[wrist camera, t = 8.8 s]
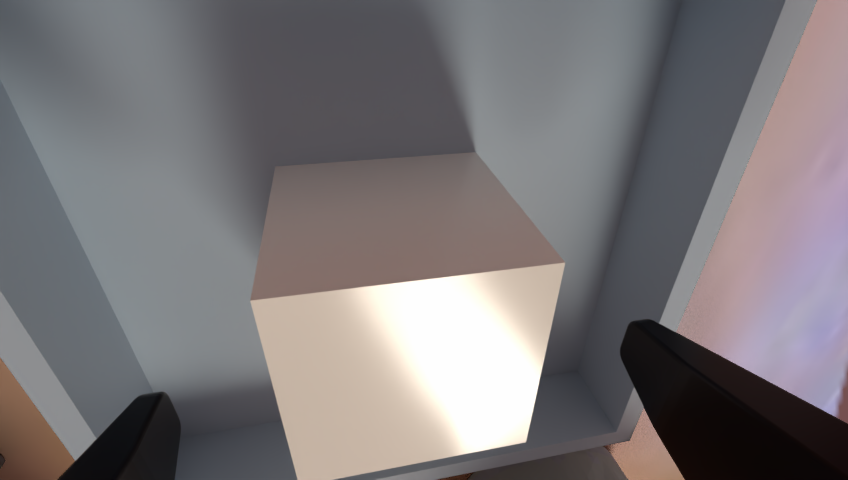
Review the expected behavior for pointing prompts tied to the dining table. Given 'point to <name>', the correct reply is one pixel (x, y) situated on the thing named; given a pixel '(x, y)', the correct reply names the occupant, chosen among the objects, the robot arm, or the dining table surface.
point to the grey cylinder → (559, 468)
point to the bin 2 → (352, 141)
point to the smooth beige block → (401, 311)
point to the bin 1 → (1, 461)
